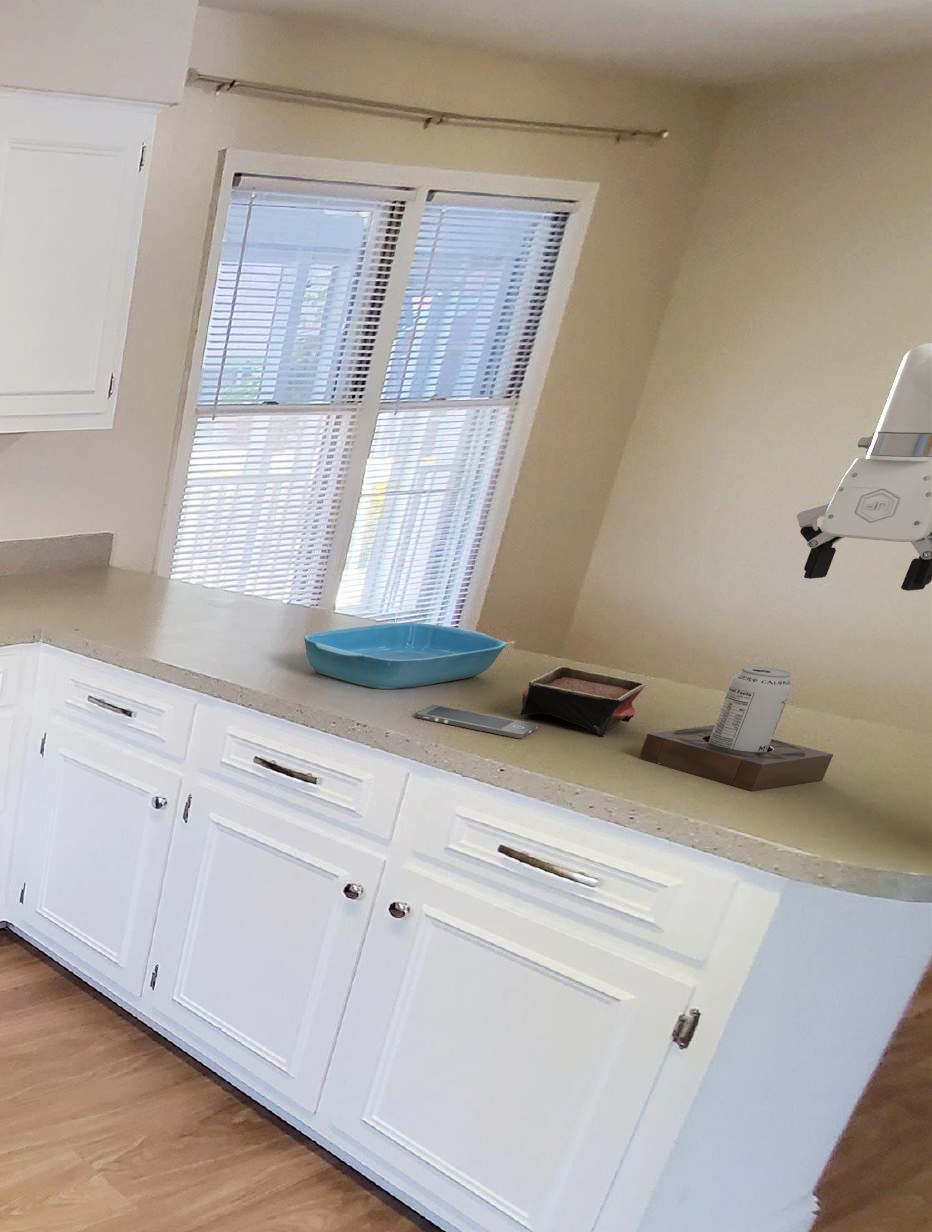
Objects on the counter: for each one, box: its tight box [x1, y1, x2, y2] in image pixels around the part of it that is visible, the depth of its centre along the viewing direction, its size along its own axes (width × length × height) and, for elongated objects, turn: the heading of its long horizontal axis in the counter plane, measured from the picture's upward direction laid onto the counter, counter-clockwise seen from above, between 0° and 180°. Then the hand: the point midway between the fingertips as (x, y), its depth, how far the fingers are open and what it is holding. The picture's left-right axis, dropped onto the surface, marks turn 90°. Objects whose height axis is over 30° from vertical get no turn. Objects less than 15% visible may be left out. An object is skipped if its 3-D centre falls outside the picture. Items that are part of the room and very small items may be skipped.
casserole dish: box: [303, 622, 507, 690], centre depth 199 cm, size 37×22×7 cm, turn 108°
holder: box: [638, 724, 834, 792], centre depth 149 cm, size 14×14×4 cm
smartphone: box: [414, 704, 539, 739], centre depth 171 cm, size 15×8×1 cm, turn 36°
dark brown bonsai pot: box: [519, 666, 646, 738], centre depth 170 cm, size 14×18×10 cm
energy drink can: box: [708, 665, 793, 752], centre depth 147 cm, size 6×6×15 cm
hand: (861, 583), depth 134 cm, fingers open, 9 cm apart
